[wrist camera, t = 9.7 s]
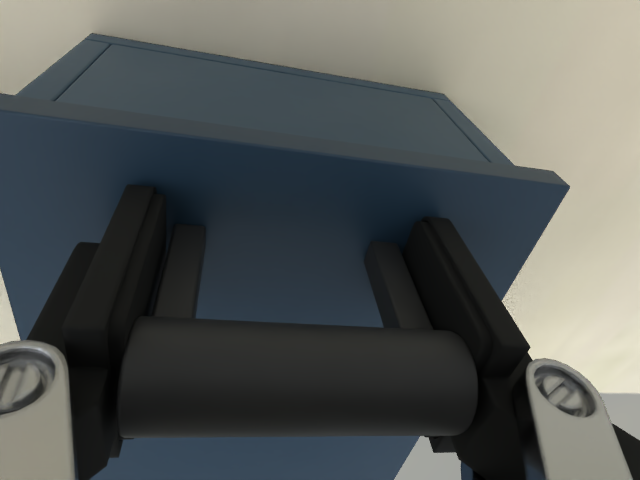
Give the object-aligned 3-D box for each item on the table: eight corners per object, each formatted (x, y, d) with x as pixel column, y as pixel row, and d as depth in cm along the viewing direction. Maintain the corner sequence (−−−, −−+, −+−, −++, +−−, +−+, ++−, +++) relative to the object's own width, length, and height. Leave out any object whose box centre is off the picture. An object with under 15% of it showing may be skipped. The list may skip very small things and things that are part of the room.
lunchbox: (90, 32, 14) (-18, 119, 9) (444, 93, 17) (541, 191, 11) (122, 370, 25) (82, 513, 19) (341, 375, 27) (365, 502, 21)
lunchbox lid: (-26, 88, 8) (-321, 284, 4) (553, 170, 11) (744, 339, 7) (82, 515, 19) (31, 695, 14) (365, 503, 21) (393, 653, 17)
